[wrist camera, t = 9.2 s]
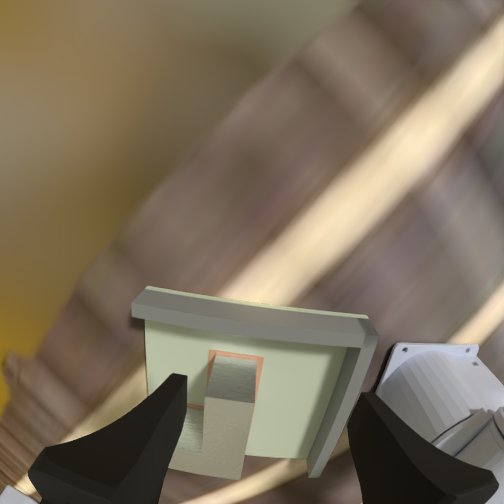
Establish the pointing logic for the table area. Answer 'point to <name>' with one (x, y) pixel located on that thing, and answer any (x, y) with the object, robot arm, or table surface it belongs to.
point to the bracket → (219, 421)
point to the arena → (264, 364)
